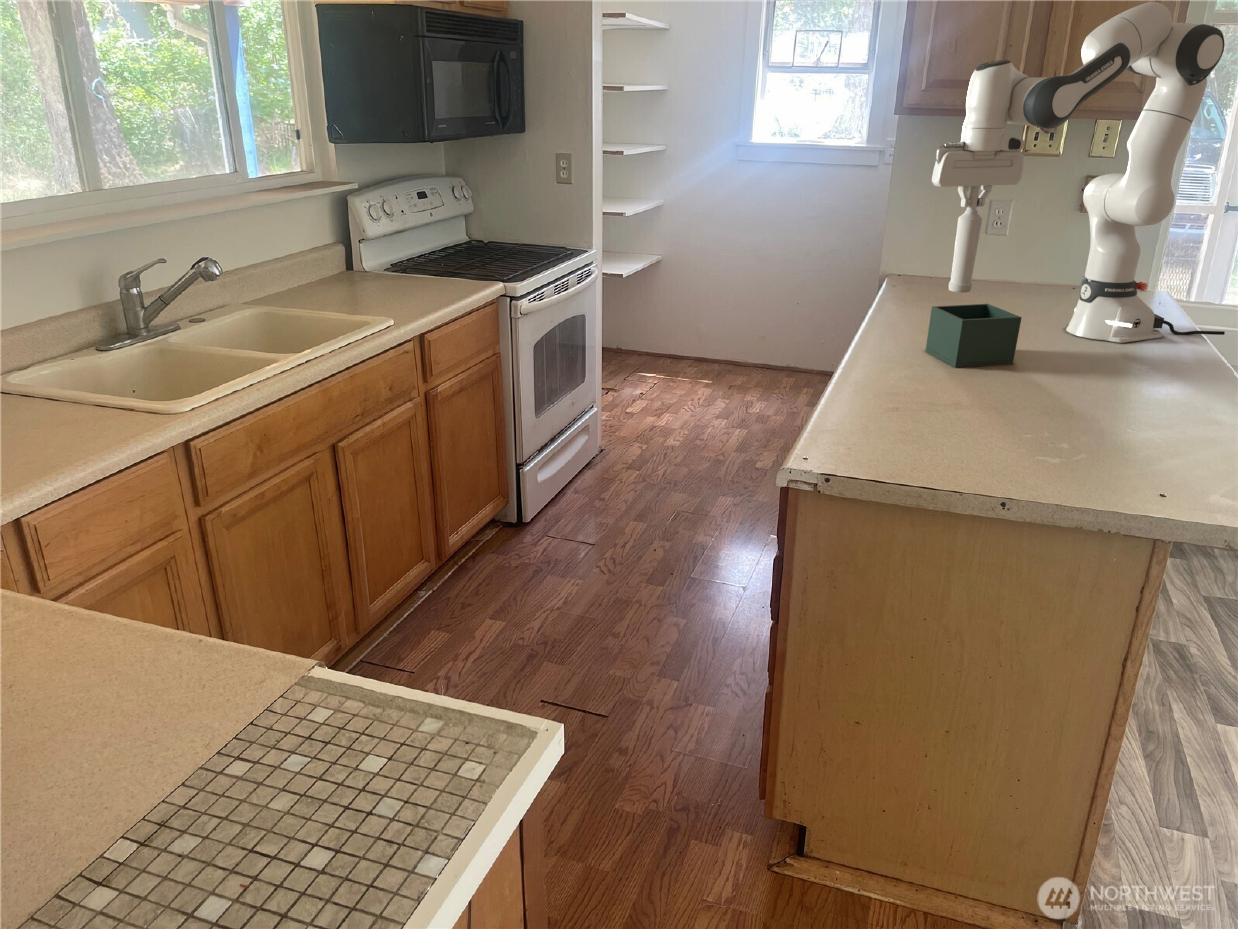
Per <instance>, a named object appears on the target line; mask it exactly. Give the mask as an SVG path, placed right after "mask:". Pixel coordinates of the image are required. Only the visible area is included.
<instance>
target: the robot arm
mask: <svg viewBox="0 0 1238 929" xmlns="http://www.w3.org/2000/svg"><path fill="white" fill-rule="evenodd" d="M1225 44H1226V43H1225V38H1224V34H1223V31H1222V30H1221V29H1219V27H1216V26H1213V25H1210V24H1206V23H1201V24H1196V23H1191V22H1190V23H1189V22H1174V23H1173V17H1172V13H1171V11H1170V10H1169V8H1168V7H1167V6H1166V5H1164V4H1163V3H1161V2H1157V1H1149V2H1144V3H1142V4H1141V3H1140V4H1138V5H1136V6H1133V7H1131V8H1128V9H1127V10H1125V11H1122V12H1120V13H1119V14H1117V15H1115V16H1112V17H1111V18H1109V19H1108V20H1106V21H1104V22H1103V23H1101V24H1100V25H1098V26H1097V27H1096V28H1094V29H1093V30H1092V31H1091V32H1090V33H1088V35H1087V36H1086V37H1085V39H1084V41H1083V43H1082V46H1081V53H1080V54H1081V61H1082V65H1081V66H1079V67H1078V68H1077V69H1076V70H1074V71H1073V72H1071V73H1069V74H1067V75H1057V76H1050V77H1049V76H1048V77H1047V76H1044V77H1043V76H1042V77H1033V76H1032V77H1029V76H1030V75H1027V74H1024V73H1023V72H1021V71H1020V70H1018V69H1017V67H1015V66H1014V64H1013V61H1011V60H1008V59H1007V60H1006V59H1002V60H1001V59H999V60H995V61H993V60H992V61H987V62H984V63H983V62H982V63H981V64H979V65H977V66H976V67H975V69H974V70H973V73H972V74H971V77H970V81H969V85H968V88H967V89H968V90H967V95H966V102H965V112H966V115H965V119H964V122H963V125H962V130H961V138H960V141H957V142H956V141H955V142H949V141H948V142H944V143H943V144H941V145H939V147H938V148H937V150H936V155H935V162H934V163H935V164H934V167H933V170H932V176H931V183H932V184H933V186H934V187H939V188H948V187H949V188H950V187H955V188H956V187H958V188H957V192H958V195H959V197H960V199H961V200H960V207H962V208H967V207H970V206H971V204H970V203H971V199H969V195H968V194H967V192H969V191H970V186H980V191H981V193H979V195H978V201H977V208H979V207H980V208H982V207H984V206H985V204H986V199H987V198H988V197H989V195H990V194H991V192H992V189H993V186H1015V185H1016V186H1017V185H1018V184H1019V183H1020V182H1021V180H1022V178H1023V172H1024V164H1025V157H1024V153H1023V152H1022V151H1023V150H1024V148H1025V145H1026V141H1025V140H1024V139H1022V138H1020V137H1016V136H1013V135H1011V134H1008V133H1006V130H1007V124H1008V125H1017V126H1030V127H1037V128H1042V129H1048V130H1049V129H1056V128H1058V127H1060V126H1062V125H1063V124H1064V123H1066V122H1067V121H1068V120H1069V119H1070V118H1071V117H1072V116H1073V115H1074V113H1075V112H1076V111H1077V110H1078V108H1079V107H1080V106H1081V105H1082V104H1083V103H1084V102H1086V101H1087V100H1088V99H1089V98H1091V97H1092V96H1094V95H1095V94H1096V93H1098V92H1099V91H1101V90H1102V89H1103V88H1105V87H1106V86H1107V85H1109V84H1110V83H1112V82H1113V81H1114V80H1115V79H1117V78H1118V77H1119V76H1121V75H1122V74H1123V73H1124V72H1125V70H1127V71H1128V72H1129V73H1132V74H1135V75H1140V76H1141V75H1142V76H1143V75H1145V76H1150V77H1155V78H1156V81H1155V87H1154V89H1153V91H1152V92H1151V94H1150V96H1149V97H1148V98H1147V101H1146V103H1145V105H1144V106H1143V109H1142V111H1141V113H1140V115H1139V117H1138V118H1137V121H1136V122H1135V126H1134V127H1133V129H1132V132H1131V133H1130V136H1129V138H1128V140H1127V142H1126V149H1127V152H1128V155H1129V156H1128V163H1127V169H1126V172H1125V173H1119V172H1113V173H1107V174H1102V175H1099V176H1097V177H1095V178H1093V179H1092V180H1090V181H1089V183H1088V184H1087V185H1086V186H1085V189H1084V192H1083V196H1082V201H1083V205H1084V207H1085V209H1086V211H1087V214H1088V221H1089V234H1090V244H1089V252H1088V256H1087V263H1086V266H1085V267H1086V268H1085V272H1084V273H1085V274H1084V275H1083V276H1082V278H1081V282H1080V287H1079V298H1078V301H1077V304H1076V306H1075V308H1074V312H1073V315H1072V317H1071V319H1070V322H1069V323H1068V325H1067V327H1066V329H1065V331H1066V332H1068V333H1069V334H1070V335H1074V336H1078V337H1080V338H1085V339H1090V340H1099V341H1108V342H1113V343H1118V344H1119V343H1120V344H1123V343H1124V344H1125V343H1132V342H1137V341H1138V342H1139V341H1145V340H1153V339H1160V338H1163V332H1162V331H1160V330H1161V329H1163V325H1166V326H1168V327H1169V331H1170V333H1171V334H1173V335H1175V336H1189V335H1191V336H1192V335H1215V336H1216V335H1217V336H1224V335H1225V334H1226V332H1225V331H1222V330H1221V331H1219V330H1187V331H1178V330H1175V327H1174V324H1173V323H1172V322H1170V321H1168V320H1165V317H1162V316H1160V315H1158V314H1156V313H1155V312H1154V310H1153V309H1152V308H1151V307H1150V306H1148V304H1146V302H1144V301H1143V300H1142V299H1141V298H1140V297H1139V296H1138V291H1141V292H1144V291H1146V290H1148V288H1149V284H1148V283H1147V282H1143V281H1136V280H1135V277H1136V273H1137V268H1138V264H1139V260H1140V256H1141V246H1140V244H1139V242H1138V239H1137V236H1136V228H1135V227H1144V226H1146V227H1147V226H1153V225H1157V224H1160V223H1161V222H1163V221H1164V220H1166V218H1167V217H1168V216H1169V215H1170V213H1171V212H1172V211H1173V209H1174V205H1175V194H1174V190H1173V188H1172V178H1173V170H1174V168H1175V167H1174V166H1175V162H1176V159H1177V156H1178V154H1179V151H1180V149H1181V148H1182V145H1183V143H1184V141H1185V139H1186V137H1187V135H1188V133H1189V130H1190V129H1191V126H1192V125H1193V122H1194V121H1195V118H1196V116H1197V114H1198V112H1199V109H1200V107H1201V104H1202V101H1203V99H1204V95H1205V94H1206V93H1205V92H1206V89H1207V86H1208V78H1207V77H1209V75H1210V74H1211V73H1212V72H1213V70H1214V69H1216V67H1217V65H1218V64H1219V62H1220V60H1221V58H1222V57H1223V54H1224V51H1225ZM1159 329H1160V330H1159Z"/></svg>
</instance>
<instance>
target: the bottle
mask: <svg viewBox="0 0 1238 929" xmlns="http://www.w3.org/2000/svg"><path fill="white" fill-rule="evenodd" d="M980 189H981V186H969V194H968V198H969V199H971V203H970V204H971V206H970V207H966V209H965V211H964V213H962V214H961V215H960V216H958V218H957V225H956V226H957V227H956V233H955V234H956V235H955V241H954V242H955V243H954V250H953V257H952V258H953V259H952V267H951V274H950V281H948V291H950V292H953V293H961V294H963V293H970V292H971V290H972V287H973V282H972V281H973V280H972V279H973V274H974V268H975V262H976V257H977V252H978V251H977V250H978V246H979V240H980V234H981V230H982V229H981V228H982V223H983V217H982V216H981V215H980V214H979V213H978V212H979V211H978V209H977V208H978V207H977V201H978V198H979V195H980Z"/></svg>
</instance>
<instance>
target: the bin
mask: <svg viewBox="0 0 1238 929" xmlns="http://www.w3.org/2000/svg"><path fill="white" fill-rule="evenodd" d="M930 309H931V310H930V317H929V324H928V331H927V338H926V344H925V352H926V353H928V354H929V355H931V356H933V357H935V358H937V359H939V360H940V361H942V362H944V363H946V364H948V365H950V366H951V367H953V368H955V369H957V368H968V367H987V366H988V367H989V366H1003V365H1004V366H1005V365H1013V364H1014V361H1015V356H1016V350H1017V345H1018V339H1019V333H1020V330H1021V329H1020V328H1021V323H1022V316H1019V315H1016V314H1014V313H1012V312H1010V311H1007V310H1005V309H1002V308H999V307H997V306H994V305H992V304H989V303H976V304H975V303H973V304H972V303H971V304H955V305H954V304H953V305H951V304H950V305H935V306H934V305H933V306H931V308H930Z"/></svg>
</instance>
